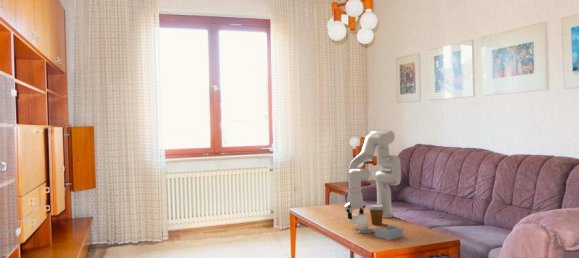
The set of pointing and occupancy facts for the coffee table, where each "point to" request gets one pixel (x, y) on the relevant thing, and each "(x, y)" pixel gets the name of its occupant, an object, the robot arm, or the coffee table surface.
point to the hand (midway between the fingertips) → (355, 217)
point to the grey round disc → (366, 231)
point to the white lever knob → (360, 221)
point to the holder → (389, 232)
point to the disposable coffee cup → (376, 213)
